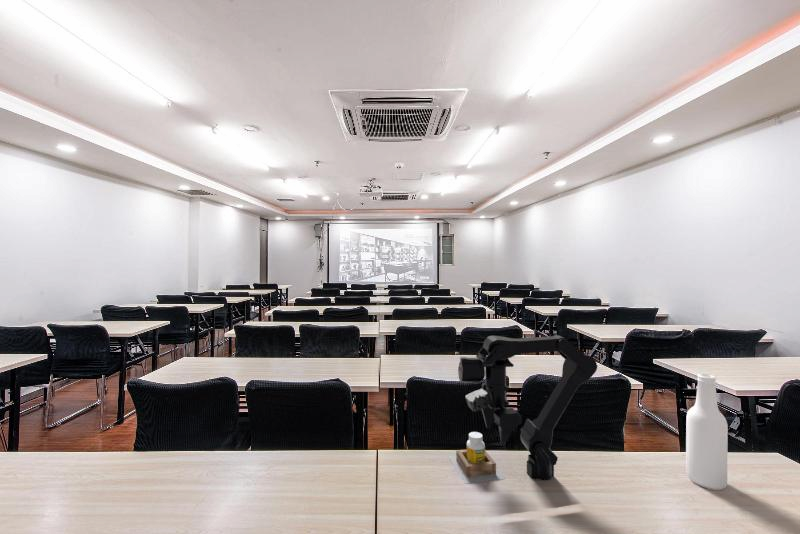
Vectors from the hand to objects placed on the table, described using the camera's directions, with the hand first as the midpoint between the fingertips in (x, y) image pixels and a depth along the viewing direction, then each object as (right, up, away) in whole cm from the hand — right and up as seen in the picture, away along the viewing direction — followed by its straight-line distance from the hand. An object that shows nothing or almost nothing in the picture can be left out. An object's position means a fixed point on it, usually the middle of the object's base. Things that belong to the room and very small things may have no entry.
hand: (495, 435), depth 101 cm
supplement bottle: (-5, -12, +4) cm, 13 cm away
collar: (-5, -11, +4) cm, 13 cm away
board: (-5, -13, +4) cm, 14 cm away
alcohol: (+59, -13, -1) cm, 61 cm away
